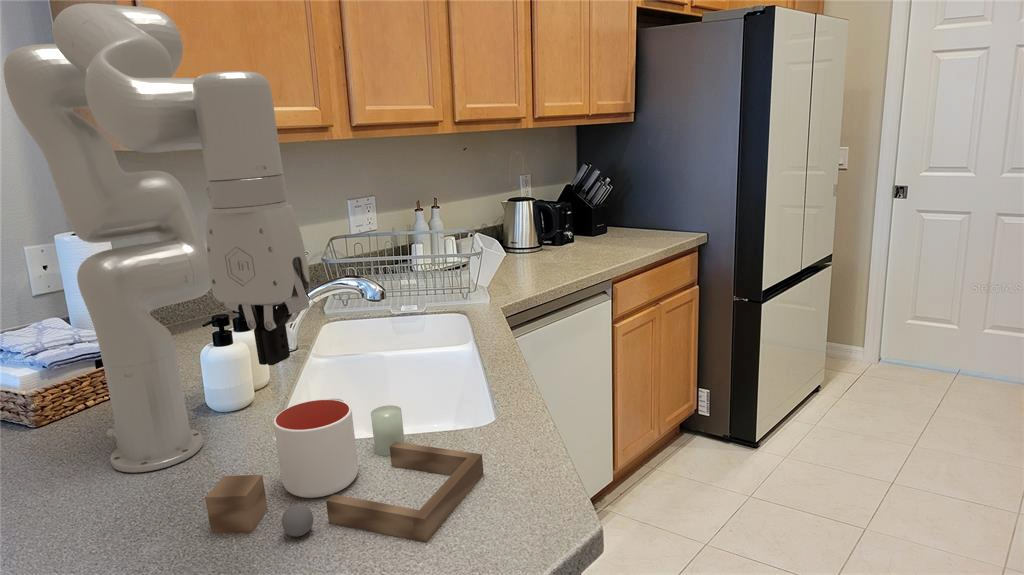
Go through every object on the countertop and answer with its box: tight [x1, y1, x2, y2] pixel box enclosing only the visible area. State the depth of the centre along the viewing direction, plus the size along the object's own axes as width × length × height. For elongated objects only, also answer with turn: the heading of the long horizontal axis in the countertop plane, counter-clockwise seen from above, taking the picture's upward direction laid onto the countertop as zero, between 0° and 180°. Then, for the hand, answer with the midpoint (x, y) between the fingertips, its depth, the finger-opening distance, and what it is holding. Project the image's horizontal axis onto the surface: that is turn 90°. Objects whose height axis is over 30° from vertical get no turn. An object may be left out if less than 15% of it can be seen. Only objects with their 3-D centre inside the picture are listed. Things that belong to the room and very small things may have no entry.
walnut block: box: [204, 474, 268, 535], centre depth 85 cm, size 5×5×5 cm
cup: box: [273, 398, 359, 499], centre depth 93 cm, size 10×10×10 cm
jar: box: [370, 404, 406, 457], centre depth 102 cm, size 4×4×6 cm
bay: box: [325, 442, 485, 543], centre depth 88 cm, size 14×16×3 cm
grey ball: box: [281, 503, 314, 537], centre depth 82 cm, size 4×4×4 cm
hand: (275, 360), depth 77 cm, fingers closed
